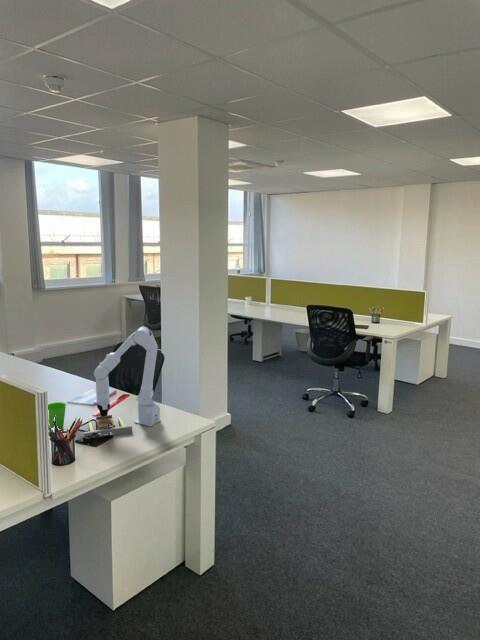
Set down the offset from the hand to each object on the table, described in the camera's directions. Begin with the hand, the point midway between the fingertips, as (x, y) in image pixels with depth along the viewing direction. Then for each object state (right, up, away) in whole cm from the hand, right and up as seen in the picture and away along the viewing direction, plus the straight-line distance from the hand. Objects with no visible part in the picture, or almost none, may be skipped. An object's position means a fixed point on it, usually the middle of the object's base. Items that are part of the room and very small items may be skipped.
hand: (104, 419), depth 218 cm
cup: (-19, -3, -8) cm, 20 cm away
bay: (+4, -3, -8) cm, 9 cm away
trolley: (+2, -2, -5) cm, 6 cm away
